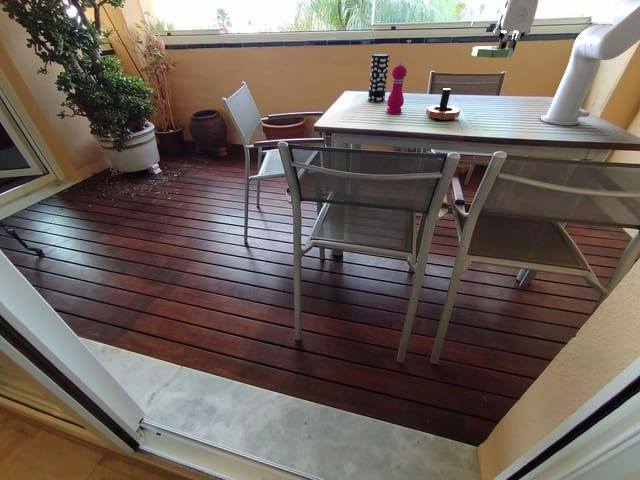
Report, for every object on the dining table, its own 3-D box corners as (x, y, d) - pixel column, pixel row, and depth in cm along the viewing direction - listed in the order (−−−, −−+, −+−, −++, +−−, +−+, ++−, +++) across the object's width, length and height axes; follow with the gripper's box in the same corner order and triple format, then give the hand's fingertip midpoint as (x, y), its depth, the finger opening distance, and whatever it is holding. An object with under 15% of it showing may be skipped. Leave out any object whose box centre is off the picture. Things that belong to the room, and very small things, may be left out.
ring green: (498, 53, 113) (501, 46, 112) (516, 57, 103) (519, 49, 102) (466, 54, 113) (468, 46, 112) (481, 57, 103) (483, 49, 102)
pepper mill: (382, 112, 133) (388, 61, 121) (391, 109, 137) (397, 59, 125) (396, 115, 129) (404, 62, 117) (405, 112, 133) (413, 60, 121)
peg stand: (446, 114, 129) (453, 86, 123) (453, 120, 123) (460, 90, 116) (428, 115, 129) (434, 87, 123) (434, 120, 123) (440, 91, 116)
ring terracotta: (451, 111, 130) (452, 105, 129) (462, 118, 121) (464, 112, 119) (423, 111, 130) (424, 105, 129) (432, 119, 120) (433, 113, 119)
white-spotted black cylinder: (372, 98, 157) (376, 53, 145) (387, 100, 153) (392, 54, 141) (365, 101, 152) (368, 55, 140) (379, 103, 148) (384, 56, 136)
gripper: (506, -12, 94) (487, 56, 105) (557, -12, 94) (532, 55, 105) (495, -11, 100) (477, 54, 111) (542, -11, 100) (520, 53, 111)
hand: (504, 54), depth 108 cm, fingers closed on ring green, 2 cm apart
